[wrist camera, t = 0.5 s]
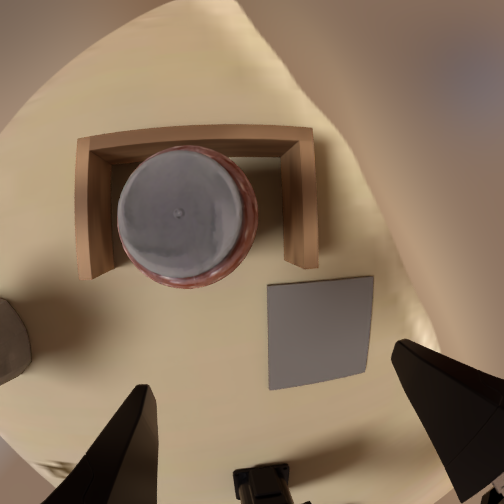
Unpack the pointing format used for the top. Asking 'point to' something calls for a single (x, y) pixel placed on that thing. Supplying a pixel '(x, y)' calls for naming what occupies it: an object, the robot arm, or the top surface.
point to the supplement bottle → (187, 216)
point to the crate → (210, 136)
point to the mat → (318, 330)
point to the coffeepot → (12, 344)
